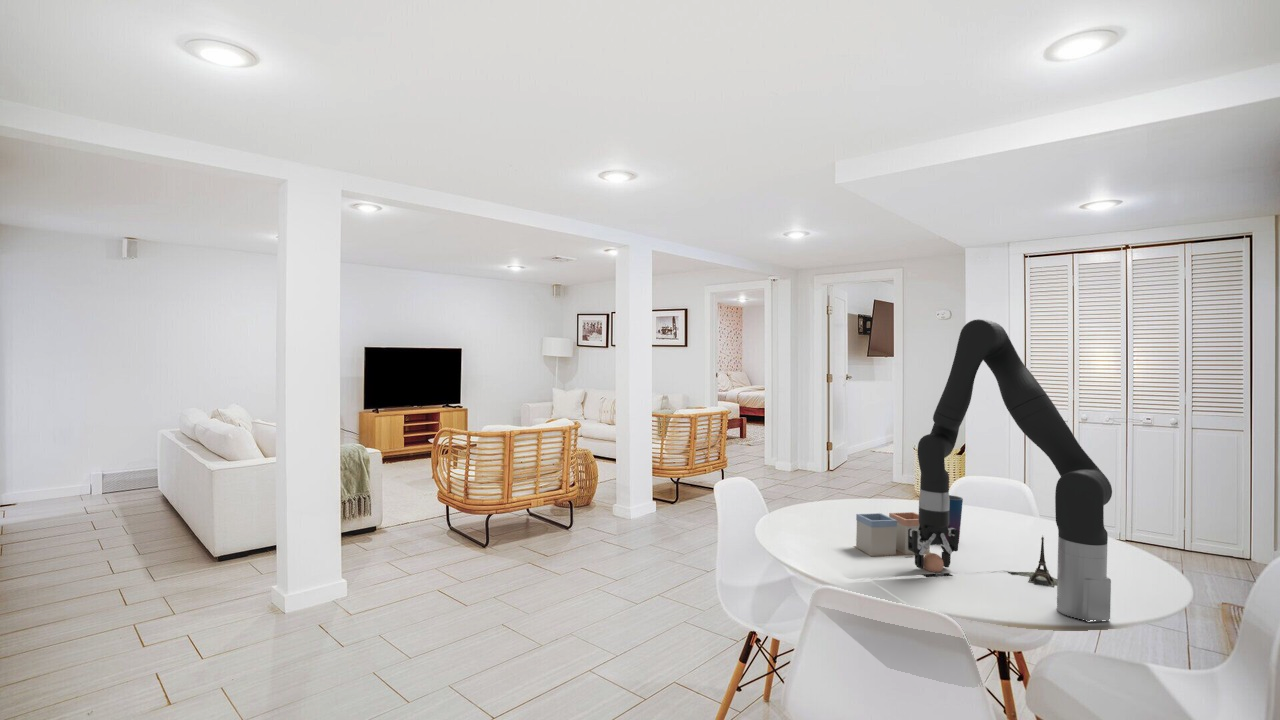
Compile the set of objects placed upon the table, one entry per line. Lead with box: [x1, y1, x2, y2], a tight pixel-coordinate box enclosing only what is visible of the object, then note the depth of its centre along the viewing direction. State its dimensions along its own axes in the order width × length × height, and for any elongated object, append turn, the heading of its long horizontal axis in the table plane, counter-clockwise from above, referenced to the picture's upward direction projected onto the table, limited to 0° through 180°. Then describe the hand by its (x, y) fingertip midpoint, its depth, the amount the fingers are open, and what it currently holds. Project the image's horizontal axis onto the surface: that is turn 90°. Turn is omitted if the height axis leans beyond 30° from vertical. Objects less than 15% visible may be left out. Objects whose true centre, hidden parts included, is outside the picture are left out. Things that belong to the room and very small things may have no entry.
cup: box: [946, 494, 964, 544], centre depth 194 cm, size 7×7×15 cm
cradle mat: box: [905, 555, 954, 578], centre depth 171 cm, size 14×8×1 cm, turn 11°
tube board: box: [852, 545, 929, 558], centre depth 184 cm, size 10×20×1 cm, turn 101°
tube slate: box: [855, 512, 897, 556], centre depth 183 cm, size 8×8×10 cm
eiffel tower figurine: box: [1007, 536, 1057, 588], centre depth 162 cm, size 15×10×13 cm
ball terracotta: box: [923, 552, 944, 573], centre depth 167 cm, size 5×5×5 cm
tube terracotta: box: [888, 511, 931, 554], centre depth 185 cm, size 8×8×10 cm
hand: (932, 567), depth 167 cm, fingers open, 7 cm apart
